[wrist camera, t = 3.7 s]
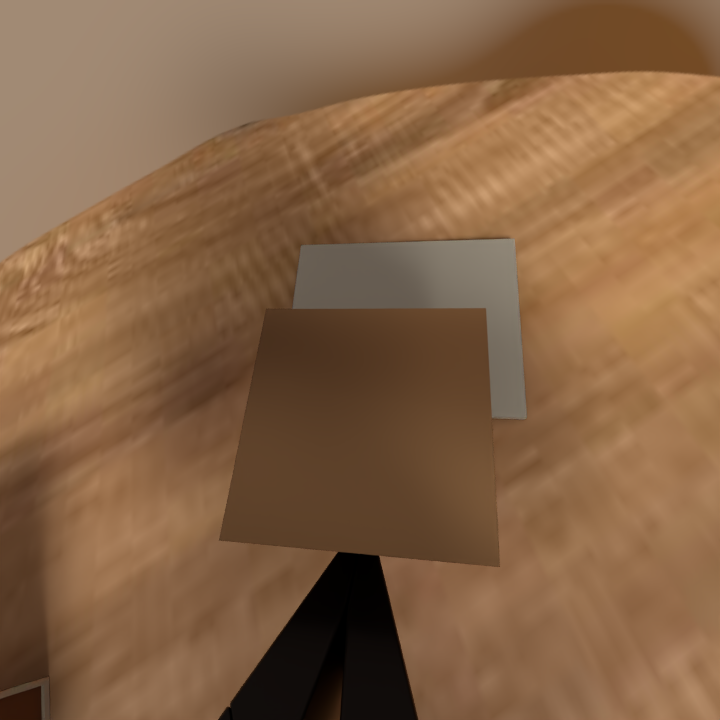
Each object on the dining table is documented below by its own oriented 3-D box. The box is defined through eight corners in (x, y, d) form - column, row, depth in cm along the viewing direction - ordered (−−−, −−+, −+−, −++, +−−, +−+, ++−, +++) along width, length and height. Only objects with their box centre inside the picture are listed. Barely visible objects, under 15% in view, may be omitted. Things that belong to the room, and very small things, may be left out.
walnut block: (455, 553, 16) (499, 566, 7) (330, 542, 16) (219, 540, 7) (453, 428, 18) (485, 308, 9) (342, 423, 19) (266, 309, 9)
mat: (524, 419, 17) (526, 417, 17) (281, 410, 19) (278, 408, 19) (512, 243, 20) (514, 238, 20) (303, 249, 22) (301, 244, 22)
